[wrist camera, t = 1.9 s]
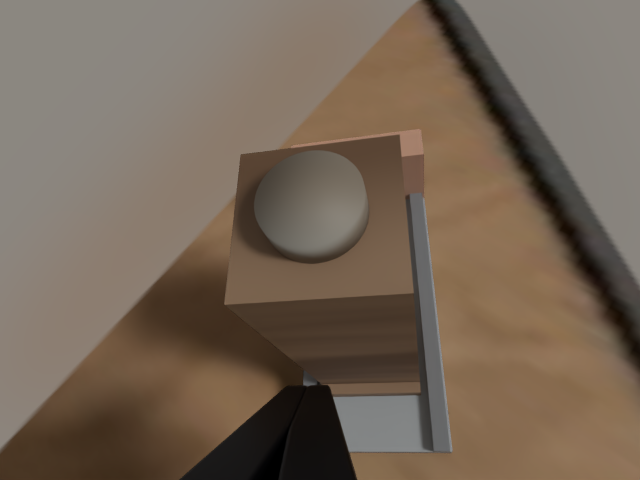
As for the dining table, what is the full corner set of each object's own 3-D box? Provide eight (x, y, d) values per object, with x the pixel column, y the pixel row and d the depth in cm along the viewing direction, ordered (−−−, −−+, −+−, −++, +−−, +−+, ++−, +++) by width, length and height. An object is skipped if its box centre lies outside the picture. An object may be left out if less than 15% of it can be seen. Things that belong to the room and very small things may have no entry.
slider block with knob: (421, 395, 18) (414, 298, 8) (325, 397, 19) (205, 311, 9) (411, 285, 21) (396, 97, 10) (326, 291, 21) (230, 121, 11)
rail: (450, 452, 18) (458, 448, 14) (308, 452, 20) (276, 448, 15) (421, 187, 24) (420, 128, 20) (313, 198, 25) (291, 145, 21)
